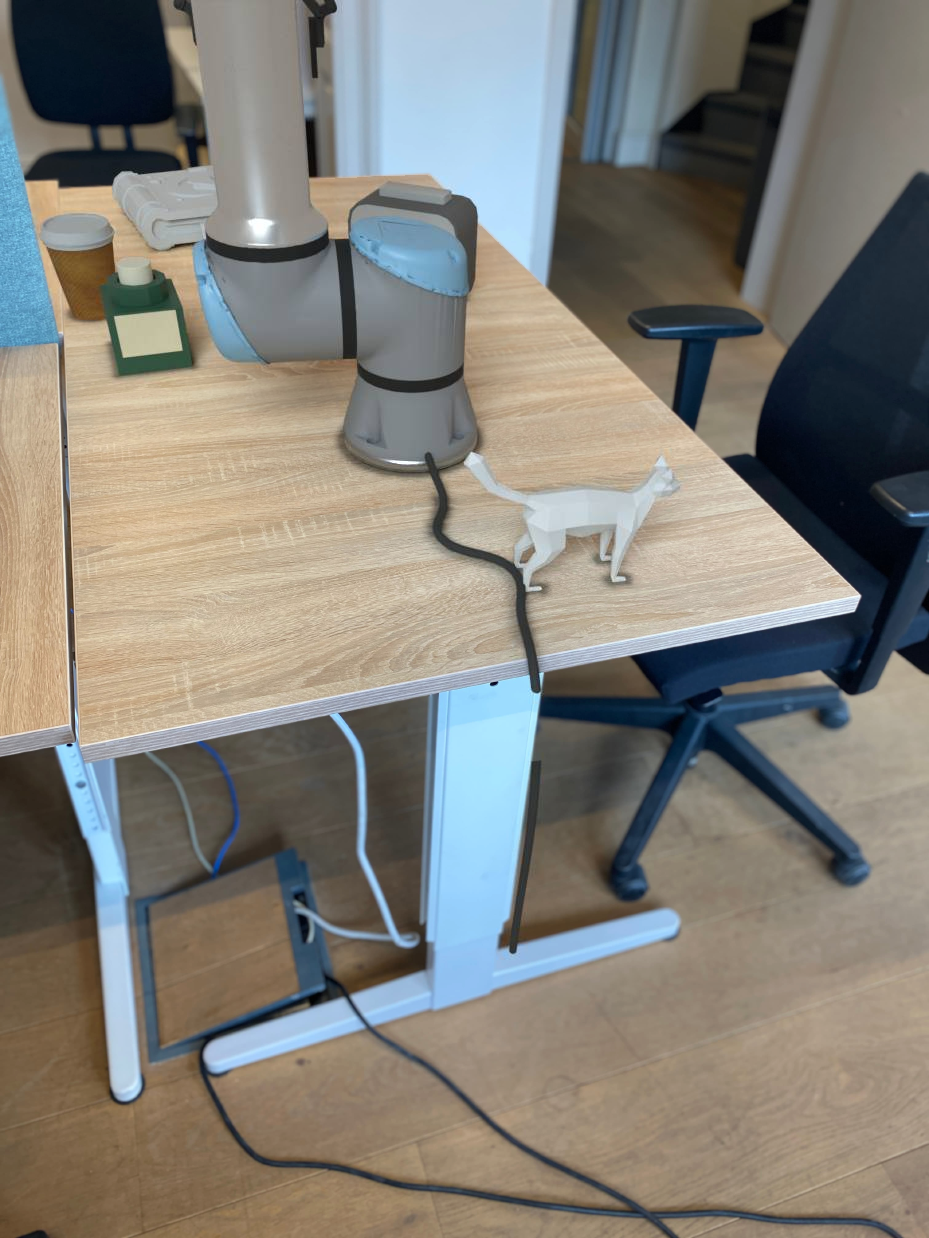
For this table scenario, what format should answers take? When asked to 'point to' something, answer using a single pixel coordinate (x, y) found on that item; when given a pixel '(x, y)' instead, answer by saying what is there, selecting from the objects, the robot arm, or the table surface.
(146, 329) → the bottle label
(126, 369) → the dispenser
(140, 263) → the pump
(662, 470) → the cat figurine
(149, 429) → the table surface
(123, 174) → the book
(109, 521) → the table surface
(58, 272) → the disposable coffee cup
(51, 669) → the table surface
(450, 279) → the robot arm
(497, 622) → the table surface
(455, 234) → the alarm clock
